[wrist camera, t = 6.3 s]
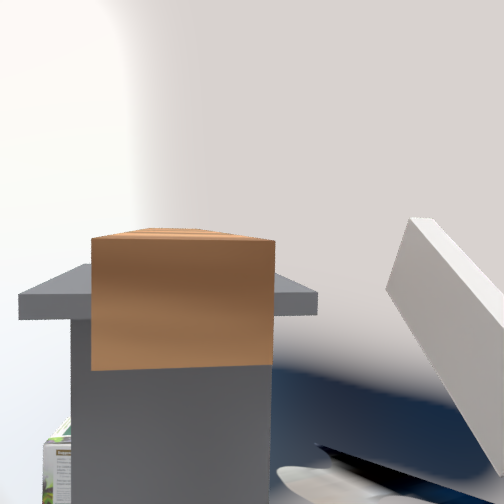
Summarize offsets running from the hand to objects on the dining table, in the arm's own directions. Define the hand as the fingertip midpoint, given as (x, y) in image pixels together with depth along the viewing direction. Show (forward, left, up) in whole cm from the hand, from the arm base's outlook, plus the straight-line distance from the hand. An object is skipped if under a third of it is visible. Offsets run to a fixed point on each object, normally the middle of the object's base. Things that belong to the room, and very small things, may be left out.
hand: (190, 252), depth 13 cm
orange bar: (-6, +6, -2) cm, 9 cm away
